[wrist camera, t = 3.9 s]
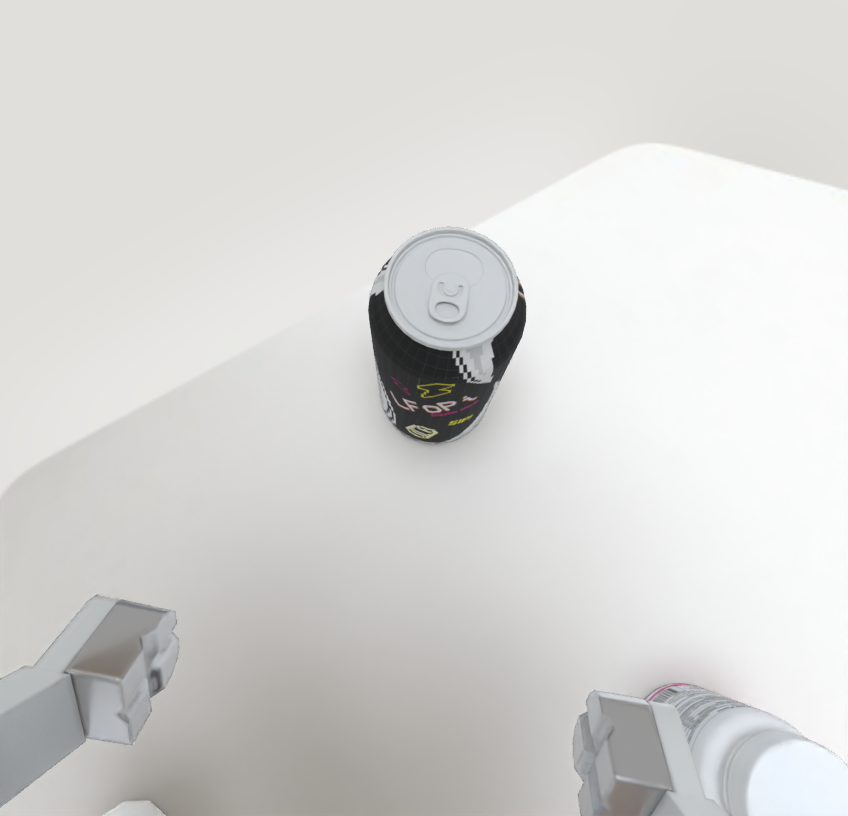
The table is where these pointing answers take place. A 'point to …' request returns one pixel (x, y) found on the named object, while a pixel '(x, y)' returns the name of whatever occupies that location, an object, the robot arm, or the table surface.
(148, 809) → the milkshake
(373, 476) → the table surface
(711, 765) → the pill bottle
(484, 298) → the beverage can
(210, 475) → the table surface
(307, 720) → the table surface
